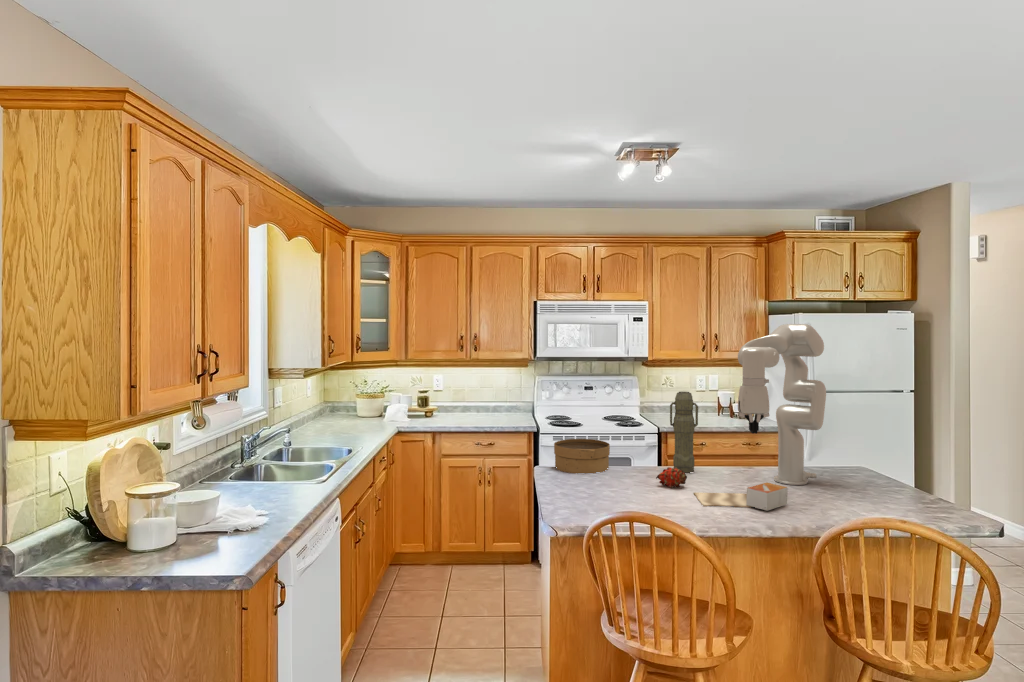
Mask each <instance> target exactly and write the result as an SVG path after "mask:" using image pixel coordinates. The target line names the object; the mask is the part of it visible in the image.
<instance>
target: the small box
mask: <svg viewBox="0 0 1024 682" xmlns="http://www.w3.org/2000/svg"><path fill="white" fill-rule="evenodd" d="M788 488H789V487H788V486H784V485H781V484H776V483H775V484H774V483H770V482H767V481H766V482H763V483H760V484H757V485H752V486H749V487H746V494H747V499H746V505H748V506H752V507H755V509H759V510H762V511H763V510H764V511H770V510H773V509H776V508H779V507H782V506H785V505H788Z"/></svg>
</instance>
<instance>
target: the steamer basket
mask: <svg viewBox="0 0 1024 682" xmlns="http://www.w3.org/2000/svg"><path fill="white" fill-rule="evenodd" d="M610 448H611V447H610V443H609V442H607V441H604V440H599V439H592V438H591V439H589V438H568V439H562V440H557V441H555V442H554V443H553V451H554V452H553V453H554V455H555V456H554V466H555V467H557V469H556V470H557V471H560V472H564V473H569V474H576V473H593V474H597V473H596V472H600V473H603V471H604V472H606V471H605V470H607V471H608V470H609V469H607V468H609V467H610V466H609V465H610V464H609V463H610V460H609V459H610V458H609V456H610V453H611V452H610ZM555 467H554V468H555Z"/></svg>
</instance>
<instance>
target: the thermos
mask: <svg viewBox="0 0 1024 682" xmlns="http://www.w3.org/2000/svg"><path fill="white" fill-rule="evenodd" d="M673 406H674V409H675V412H674V417H673ZM694 407H695V417H694V413H693V412H694ZM669 425H670V426H672V427H673V433H674V453H673V454H674V455H673V458H672V459H673V463H672V464H673V468H674V469H675V467H677V468H678V469H680V470H683V472H684V473H689V474H691V473H690V472H695V456H694V434H695V428H696V427H697V426H698V425H699V406H698V404H697V403H696V402H694V399H693V395H692V392H690V391H678V392H677V393H675V397H674V402H673V401H672V402H671V403H670V405H669Z"/></svg>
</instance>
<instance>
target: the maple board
mask: <svg viewBox="0 0 1024 682" xmlns="http://www.w3.org/2000/svg"><path fill="white" fill-rule="evenodd" d="M693 495H694V497H695V496H696V497H697V498H696V497H695V498H696V499H697V501H698V502H699V501H700V502H699V503H700V504H701V506H702V505H703V506H702V507H707V506H734V507H733V508H751V507H752V506H748V505H746V499H747V493H742V492H741V493H736V492H735V493H734V492H696V491H695V492H693Z"/></svg>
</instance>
